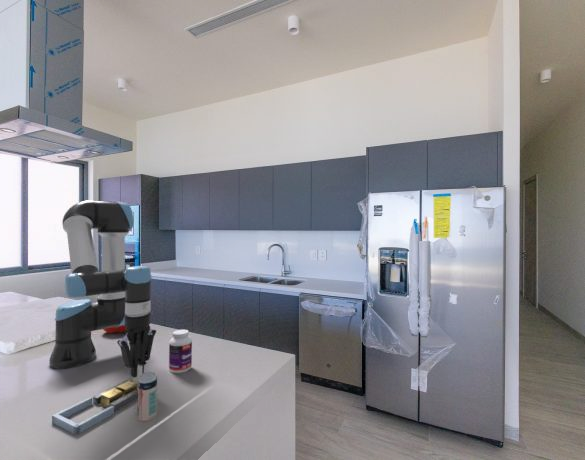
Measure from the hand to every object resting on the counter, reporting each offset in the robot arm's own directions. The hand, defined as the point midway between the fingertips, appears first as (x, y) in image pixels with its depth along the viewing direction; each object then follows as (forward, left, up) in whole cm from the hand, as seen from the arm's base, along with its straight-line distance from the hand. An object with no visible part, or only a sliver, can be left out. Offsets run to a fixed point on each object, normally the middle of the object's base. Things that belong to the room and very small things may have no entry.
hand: (137, 385), depth 98 cm
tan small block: (0, -9, -1) cm, 9 cm away
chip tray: (0, -16, -2) cm, 16 cm away
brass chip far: (0, -4, -1) cm, 4 cm away
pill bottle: (+1, +17, -2) cm, 17 cm away
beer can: (+15, -8, -2) cm, 17 cm away
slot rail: (0, -5, -2) cm, 5 cm away
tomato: (-59, +34, -2) cm, 68 cm away
